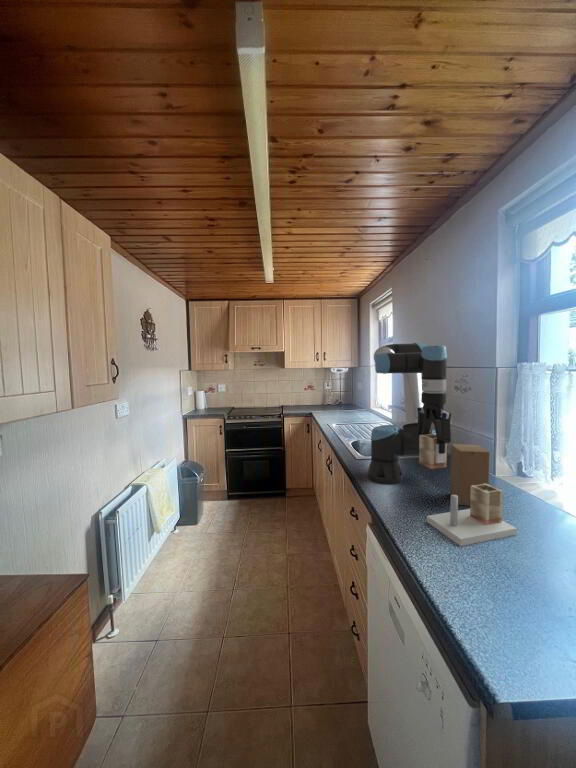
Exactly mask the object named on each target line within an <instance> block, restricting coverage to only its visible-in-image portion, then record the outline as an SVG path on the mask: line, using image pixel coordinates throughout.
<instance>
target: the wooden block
mask: <svg viewBox="0 0 576 768" xmlns="http://www.w3.org/2000/svg"><path fill="white" fill-rule="evenodd" d="M449 459H450V464H449V465H450V467H449V469H450V470H449V474H450V475H449V495H450V496H451V495H457V496H458V506H467V507H468V506H470V496H471V486H472V485H479V484H488V485H490V484H489V483H490V481H489V480H490V451H488V450H487V449H485V448H484V447H482V445H479V444H469V443H468V444H467V443H463V444H462V443H450V458H449Z"/></svg>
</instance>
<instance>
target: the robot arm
mask: <svg viewBox="0 0 576 768" xmlns="http://www.w3.org/2000/svg"><path fill="white" fill-rule="evenodd" d="M447 359H448V353H447V347H446V346H445V345H425V344H424V343H420V342H419V343H417V342H413V343H390V344H385V345H382V346H381V347H378V348H377V349H376V350H375V351H374V353H373V362H374V368H375V369H374V370H375V373H376V374H382V375H386V374H402V375H403V378H402V379H403V392H404V394H403V395H404V408H405V409H404V412H405V413H404V414H405V423H404V424H403V425H402V428H399V426H398V425H395V424H384V425H377V426H375V427H373V428H372V429H371V434H370V435H371V436H370V442H371V444H370V448H371V449H370V451H371V453H370V457H371V458H370V463H369V466H368V469H367V470H366V472H367V473H366V476H367V479H368V480H369V481H372V482H374V483H376V484H377V483H378V484H383V485H395V484H400V483H402V481H404V480H403V477H404V476H403V472H402V469H401V466H400V462H399V457H413V458H414V457H418V458H419V439H420V435H425V434H436V436H437V441H438V442H436V458H435V463H444V453H445V444H446V443H447V444H451V442H452V439H451V438H452V435H451V434H452V433H451V417H452V413H451V412H449V411H448V412H447V411H445V407H444V406H445V404H446V403H447V393H446V392H447V364H448V363H447ZM432 424H433V425H434V429H432ZM441 439H442V440H441Z"/></svg>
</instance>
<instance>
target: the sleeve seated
mask: <svg viewBox="0 0 576 768" xmlns="http://www.w3.org/2000/svg"><path fill="white" fill-rule="evenodd" d="M485 490H488V491H485ZM503 494H504V490H502V489H499V488H497V487H496V486H493V485H491V484H489V485H488V484H479V485H472V486H471V496H470V507H469V509H470V516H471V517H473V518H474V519H476V520H478V521H480V522H481V523H483V524H485V525H490V524H495V523H501V522H502V521H503V497H504V495H503Z"/></svg>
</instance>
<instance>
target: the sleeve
mask: <svg viewBox="0 0 576 768" xmlns="http://www.w3.org/2000/svg"><path fill="white" fill-rule="evenodd" d="M441 440H442V439H441ZM436 442H438V441H437V436H436V434H425V435H420V439H419V457H418V458H419V459H418V463H419V464H420V465H422V466H424V467H427V468H428V469H430V470H434V469H443V468H447V466H448V465H447V462H448V460H447V458H448V457H447V456H448V455H447V453H448V443H446V444H445V453H444V463H435V458H436Z"/></svg>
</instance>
